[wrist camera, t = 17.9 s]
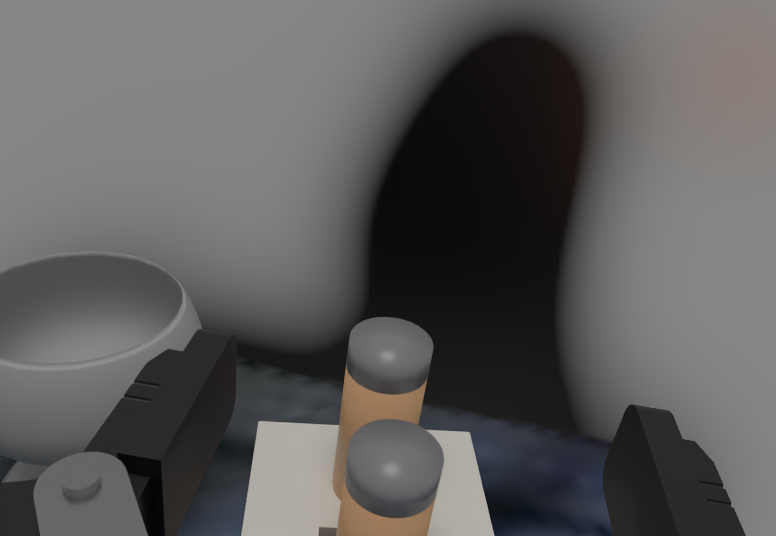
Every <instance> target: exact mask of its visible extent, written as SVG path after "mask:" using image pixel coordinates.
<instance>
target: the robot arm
mask: <svg viewBox="0 0 776 536" xmlns="http://www.w3.org/2000/svg"><path fill="white" fill-rule="evenodd" d="M236 360H237V340H236V336H235V335H232V334H226V333H220V332H214V331H209V330H203V329H198V330H197V331H196V332H195V334H194V335H193V337H192V338H191V340H190V341H189V343H188V344H187V346H186V347H185V349H184V350H183V351H178V350H172V349H167V350H165V351H164V352H162V353H161V354H159V355H158V356H156V357H155V358H153V359H151V360H150V361H148V362H147V363H146V364H145V366H144V367H143V369H142V370H141V371H140V373H139V374H138V376H137V377H136V378H135V380H134V384H131V385H130V387H129V388H128V390H127V391H126V392H125V394H124V397H123V398H121V399H120V401H119V402H118V404H117V405H116V406H115V408H114V409H113V411H112V412H111V413H110V415H109V416H108V418H107V419H106V420H105V422H104V423H103V425H102V426H101V427H100V429H99V430H98V432H97V433H96V434H95V436H94V437H93V439H92V440H91V441H90V443H89V444H88V446H87V447H86V448H85V450H84V451H83V452H82V453H78V454H74V455H71V456H68V457H65V458H63V459H61V460H59V461H57V462H55V463H54V464H52V465H51V466H50V467H48V468H47V469H46V470H45V471H44V472H43V473H42V474H41V476H40V477H39V478H37V479H33V480H26V481H15V482H3V483H0V536H176V534H177V532H178V530H179V528H180V526H181V524H182V522H183V520H184V518H185V515H186V513H187V511H188V509H189V507H190V505H191V503H192V501H193V498H194V496H195V494H196V492H197V490H198V488H199V486H200V484H201V481H202V479H203V477H204V475H205V473H206V471H207V469H208V467H209V464H210V462H211V460H212V458H213V456H214V454H215V452H216V450H217V448H218V445H219V443H220V441H221V439H222V437H223V435H224V433H225V431H226V428H227V426H228V424H229V422H230V419H231V416H232V412H233V408H234V404H235V397H236ZM603 490H604V495H605V499H606V504H607V508H608V513H609V517H610V521H611V526H612V530H613V535H614V536H745V533H744V531H743V528H742V526H741V524H740V522H739V519H738V517H737V515H736V512H735V510H734V508H732V507H731V501H730V499H729V497H728V494H727V492H726V490H725V489H723V483H722V480H721V478H720V476H719V474H718V471H717V469H716V467H715V465H714V462H713V461H712V460H711V459H710V458H709V457H708V456H707V455H706V453H705V452H704V451H703V450H702V449H701V448H700V447H699V446H698V444H697V443H696V442H695V441H690V440H684V439H682V437H681V434H680V431H679V429H678V426H677V424H676V422H675V419H674V416H673V415H672V413H671V412H670V411H667V410H662V409H656V408H650V407H643V406H638V405H629V406H628V407H627V409H626V410H625V413H624V415H623V418H622V421H621V423H620V425H619V428H618V430H617V433H616V435H615V438H614V440H613V443H612V445H611V448H610V450H609V453H608V455H607V458H606V461H605V465H604V471H603Z"/></svg>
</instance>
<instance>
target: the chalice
mask: <svg viewBox="0 0 776 536" xmlns="http://www.w3.org/2000/svg"><path fill="white" fill-rule="evenodd" d="M198 329H202V327H201V324H200V321H199V318H198V316H197V314H196V311H195V309H194V307H193V304H192V302H191V300H190V298H189V296H188V294H187V292H186V291H185V289H184V288H183V286H182V285H181V284H180V283H179V282H178V281H177V280H176V279H175V278H174V277H173V276H172V275H171V274H170V273H169V272H168V271H167V270H165V269H164V268H162V267H160V266H158V265H157V264H155V263H153V262H150V261H147V260H144V259H141V258H138V257H135V256H130V255H125V254H120V253H110V252H70V253H62V254H53V255H49V256H44V257H39V258H35V259H30V260H27V261H24V262H21V263H18V264H15V265H12V266H10V267H8V268H5V269H3V270H1V271H0V456H3V457H7V458H10V459H13V460H16V461H17V462H16V463H15V464H14V465H13V466H12V467H11V469H10V470H9V471H8V473H7V474H6V476H5V477H4V478H3V480H2V482H1V483H3V482H15V481H26V480H33V479H37V478H39V477H40V476H41V474H42V473H43V472H44V471H45V470H46V469H47V468H48V467H50V466H51V465H52V464H54V463H55V462H57V461H59V460H61V459H63V458H65V457H68V456H71V455H74V454H78V453H82V452H83V451H84V450H85V448H86V447H87V446H88V444H89V443H90V441H91V440H92V439H93V437H94V436H95V434H96V433H97V432H98V430H99V429H100V427H101V426H102V425H103V423H104V422H105V420H106V419H107V418H108V416H109V415H110V413H111V412H112V411H113V409H114V408H115V406H116V405H117V404H118V402H119V401H120V399H121V398H123V397H124V394H125V392H126V391H127V390H128V388H129V387H130V385H131V384H134V380H135V378H136V377H137V376H138V374H139V373H140V371H141V370H142V369H143V367H144V366H145V364H146V363H147V362H148V361H150V360H151V359H153V358H155V357H156V356H158V355H159V354H161V353H162V352H164V351H165V350H167V349H172V350H178V351H183V350H184V349H185V347H186V346H187V344H188V343H189V341H190V340H191V338H192V337H193V335H194V334H195V332H196V331H197V330H198Z"/></svg>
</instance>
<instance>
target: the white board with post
mask: <svg viewBox="0 0 776 536" xmlns="http://www.w3.org/2000/svg"><path fill="white" fill-rule="evenodd" d="M432 352H433V342H432V340H431V338H430V336H429V335H428V334H427V333H426V332H425V331H424V330H423V329H422V328H420V327H419V326H417V325H415V324H413V323H411V322H408V321H405V320H402V319H397V318H391V317H378V318H371V319H367V320H365V321H362V322H360V323H359V324H357V325H356V326H355V327H354V328H353V329H352V331H351V333H350V339H349V347H348V356H347V364H346V372H345V380H344V388H343V397H342V405H341V413H340V421H339V425H321V424H302V423H283V422H264V421H259V423H258V429H257V436H256V442H255V449H254V455H253V462H252V468H251V475H250V481H249V488H248V495H247V501H246V508H245V514H244V521H243V527H242V534H241V536H336V533H337V526H338V519H339V511H340V504H341V497H342V490H343V482H344V475H345V468H346V460H347V453H348V446H349V442H350V439H351V437H352V436H353V434H354V433H355V432H356V431H357V430H358V429H359V428H360V427H362V426H363V425H365V424H367V423H369V422H372V421H376V420H381V419H398V420H403V421H407V422H411V423H413V424H416V425H418V422H419V417H420V412H421V407H422V402H423V397H424V392H425V387H426V382H427V376H428V371H429V367H430V362H431V357H432ZM427 431H428V432H429V433H430V434H431V435H433V436H434V437H435V439H436V440H437V441H438V443H439V444H440V446H441V448H442V450H443V454H444V465H443V469H442V473H441V478H440V482H439V486H438V490H437V495H436V499H435V503H434V507H433V512H432V516H431V520H430V524H429V529H428V533H427V536H494V533H493V529H492V524H491V520H490V516H489V512H488V508H487V503H486V499H485V495H484V491H483V487H482V482H481V478H480V474H479V470H478V466H477V461H476V457H475V453H474V449H473V445H472V440H471V436H470V432H456V431H437V430H427Z"/></svg>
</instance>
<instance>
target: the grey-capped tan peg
mask: <svg viewBox="0 0 776 536" xmlns="http://www.w3.org/2000/svg"><path fill="white" fill-rule="evenodd" d="M443 465H444V454H443V450H442V448H441V446H440V444H439V443H438V441H437V440H436V439H435V437H434V436H433V435H431V434H430V433H429V432H428V431H427V430H425V429H423V428H422V427H420V426H418V425H416V424H413V423H411V422H407V421H403V420H398V419H381V420H376V421H372V422H369V423H367V424H365V425H363V426H362V427H360V428H359V429H358V430H357V431H356V432H355V433H354V434H353V436H352V437H351V439H350V442H349V446H348V453H347V460H346V468H345V475H344V482H343V490H342V497H341V504H340V511H339V519H338V526H337V533H336V536H427V533H428V529H429V524H430V520H431V516H432V512H433V507H434V503H435V499H436V495H437V490H438V486H439V482H440V478H441V473H442V469H443Z"/></svg>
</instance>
